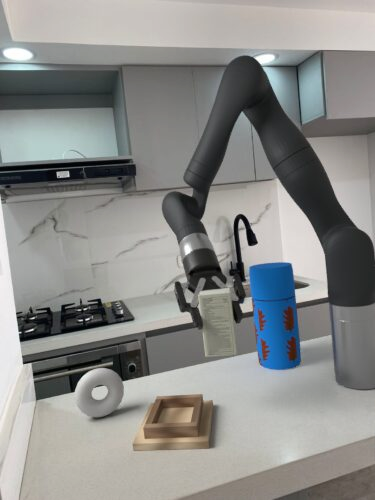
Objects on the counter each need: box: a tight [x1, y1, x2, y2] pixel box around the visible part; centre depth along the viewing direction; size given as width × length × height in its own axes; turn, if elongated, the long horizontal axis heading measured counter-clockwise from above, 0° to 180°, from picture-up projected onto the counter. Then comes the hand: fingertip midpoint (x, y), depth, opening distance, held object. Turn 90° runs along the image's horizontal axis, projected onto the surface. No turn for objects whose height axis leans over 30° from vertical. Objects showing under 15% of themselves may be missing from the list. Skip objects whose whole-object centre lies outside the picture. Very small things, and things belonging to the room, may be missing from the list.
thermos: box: [248, 261, 302, 371], centre depth 91 cm, size 11×11×25 cm
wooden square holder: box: [132, 393, 214, 451], centre depth 67 cm, size 13×14×3 cm
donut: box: [74, 367, 125, 418], centre depth 74 cm, size 10×4×10 cm, turn 109°
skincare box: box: [198, 287, 238, 358], centre depth 69 cm, size 6×4×12 cm
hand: (220, 324), depth 68 cm, fingers closed on skincare box, 7 cm apart
